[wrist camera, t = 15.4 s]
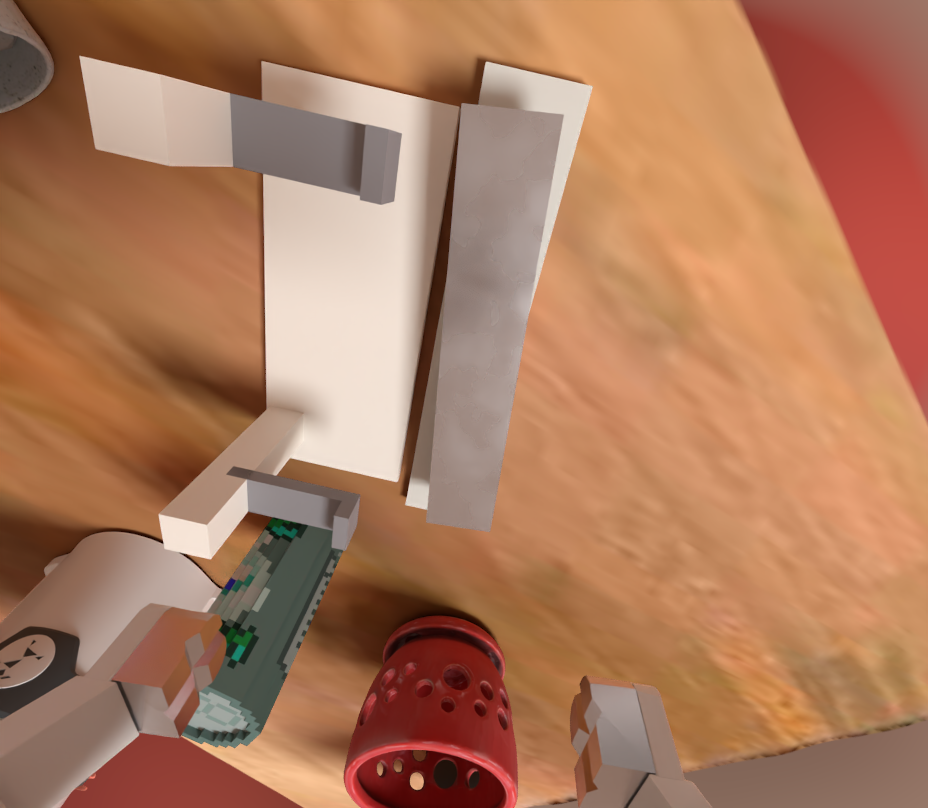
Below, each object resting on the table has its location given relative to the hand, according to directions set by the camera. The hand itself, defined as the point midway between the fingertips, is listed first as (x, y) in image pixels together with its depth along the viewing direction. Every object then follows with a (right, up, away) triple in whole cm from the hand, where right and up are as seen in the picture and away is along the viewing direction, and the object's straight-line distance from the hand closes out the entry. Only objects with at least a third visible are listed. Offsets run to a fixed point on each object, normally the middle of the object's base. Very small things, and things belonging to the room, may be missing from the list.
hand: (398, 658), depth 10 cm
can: (-11, -4, +28) cm, 30 cm away
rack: (-6, +12, +18) cm, 23 cm away
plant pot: (0, -18, +33) cm, 38 cm away
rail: (+3, +9, +18) cm, 20 cm away
